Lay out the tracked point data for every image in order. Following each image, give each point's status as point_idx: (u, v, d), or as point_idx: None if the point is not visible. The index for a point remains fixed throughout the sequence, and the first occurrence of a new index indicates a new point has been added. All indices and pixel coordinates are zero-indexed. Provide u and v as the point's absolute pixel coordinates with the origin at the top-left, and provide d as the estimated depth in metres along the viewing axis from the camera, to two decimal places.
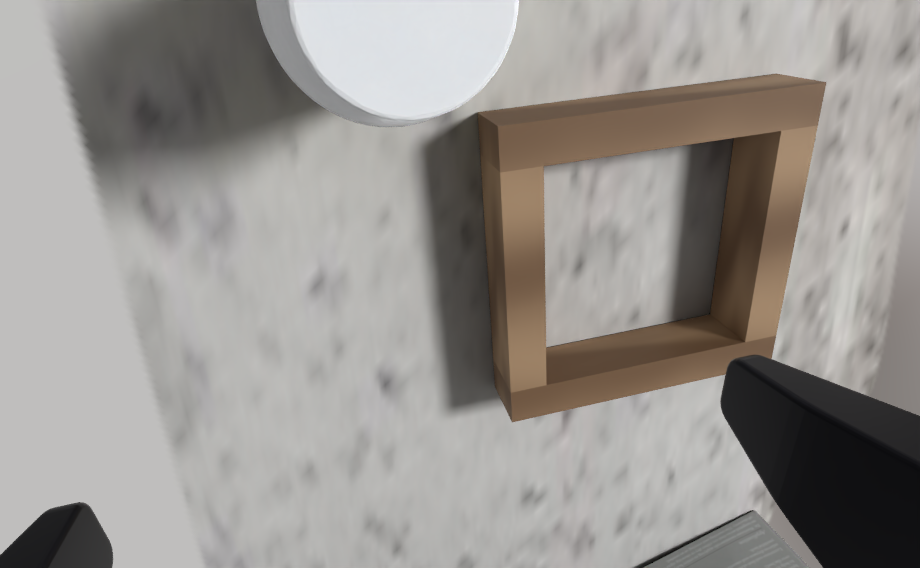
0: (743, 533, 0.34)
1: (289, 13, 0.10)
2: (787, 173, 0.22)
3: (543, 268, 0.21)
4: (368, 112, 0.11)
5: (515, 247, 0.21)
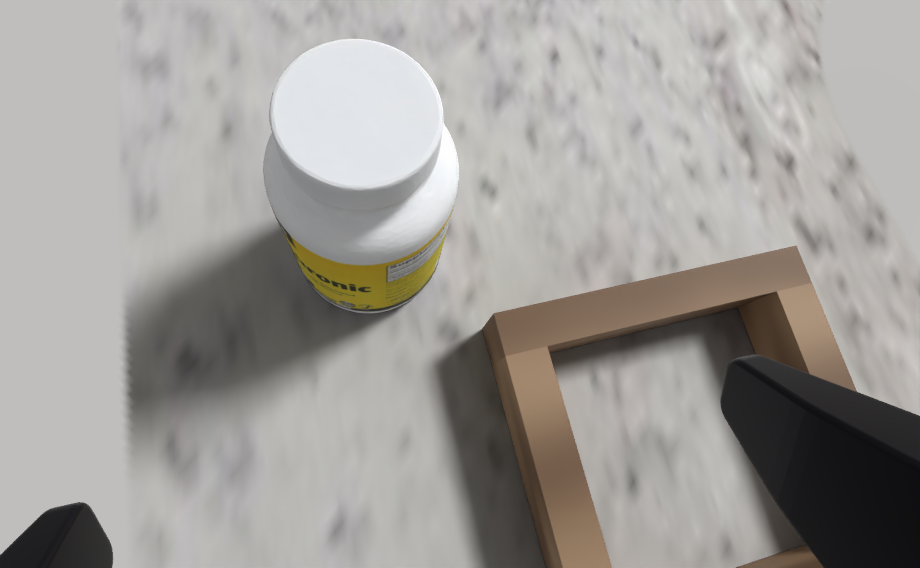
0: None
1: (271, 125, 0.13)
2: (807, 330, 0.21)
3: (578, 459, 0.19)
4: (332, 185, 0.13)
5: (540, 435, 0.19)
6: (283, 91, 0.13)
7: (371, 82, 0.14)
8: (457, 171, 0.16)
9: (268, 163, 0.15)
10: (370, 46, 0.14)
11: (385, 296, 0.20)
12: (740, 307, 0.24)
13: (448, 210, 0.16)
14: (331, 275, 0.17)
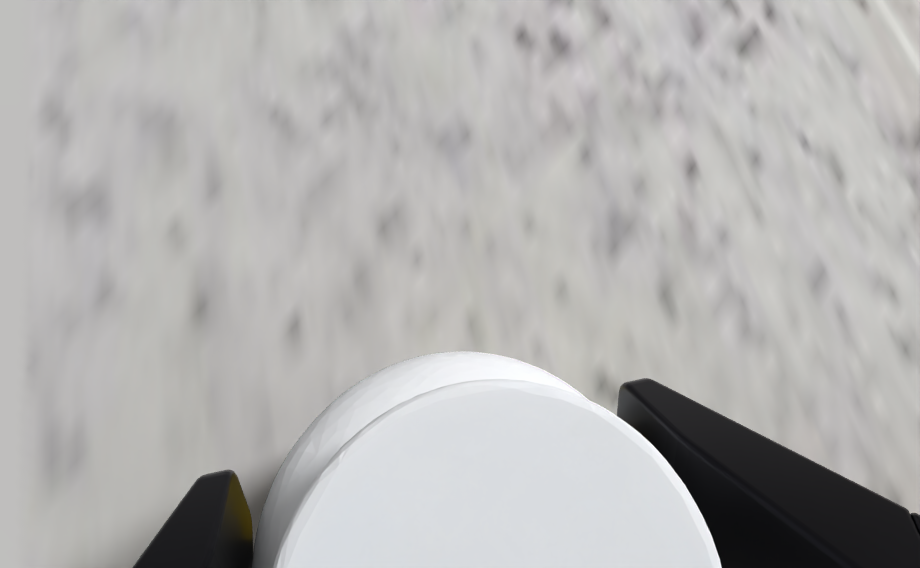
0: None
1: None
2: None
3: None
4: None
5: None
6: None
7: (538, 519, 0.05)
8: None
9: None
10: (527, 403, 0.05)
11: None
12: None
13: None
14: None
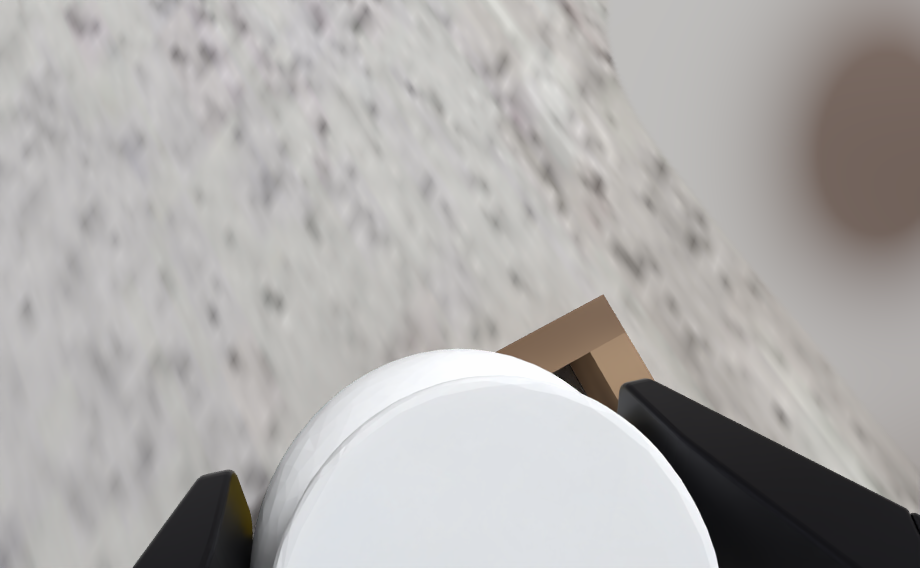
0: None
1: None
2: None
3: None
4: None
5: None
6: None
7: (536, 513, 0.05)
8: None
9: None
10: (525, 399, 0.05)
11: None
12: None
13: None
14: None
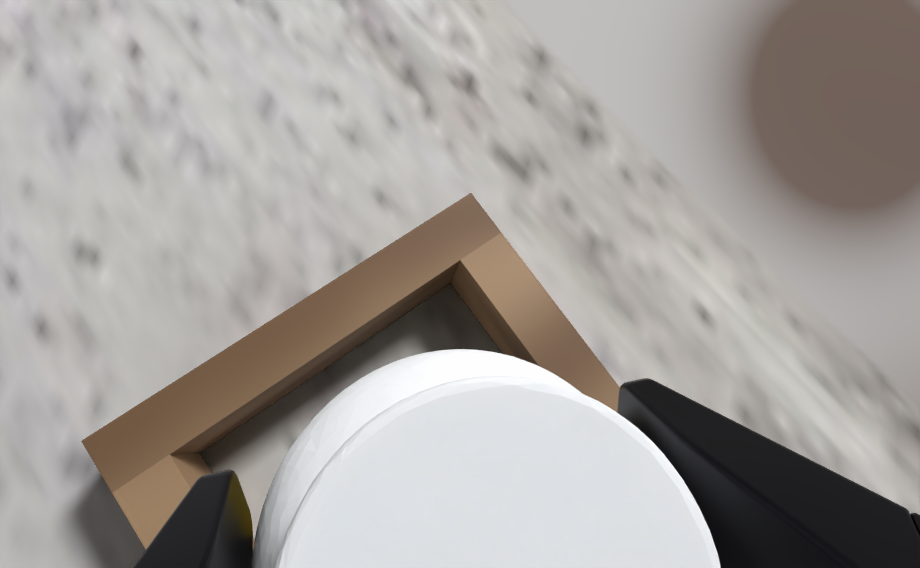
0: None
1: None
2: (510, 294, 0.17)
3: None
4: None
5: None
6: None
7: (538, 514, 0.05)
8: None
9: None
10: (527, 399, 0.05)
11: None
12: (451, 282, 0.19)
13: None
14: None
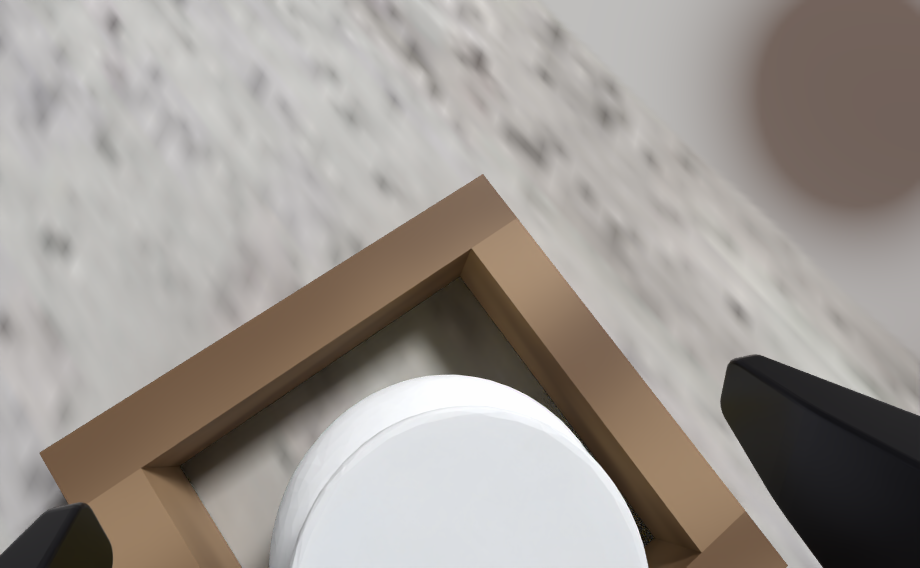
0: None
1: None
2: (528, 287, 0.15)
3: None
4: None
5: None
6: (314, 564, 0.06)
7: (498, 517, 0.06)
8: None
9: None
10: (490, 425, 0.07)
11: None
12: (460, 275, 0.17)
13: None
14: None
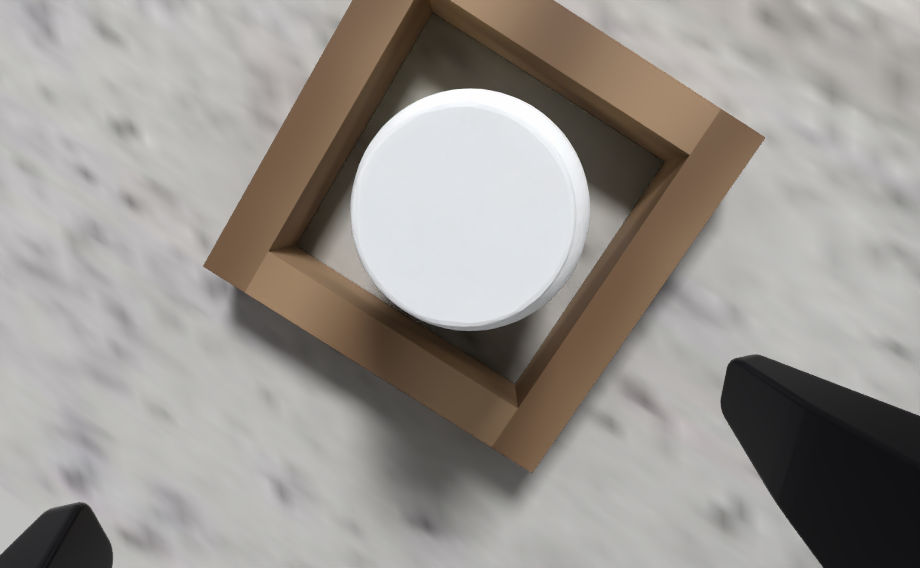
0: None
1: (375, 283, 0.11)
2: None
3: (372, 319, 0.18)
4: (478, 326, 0.10)
5: (327, 329, 0.18)
6: (365, 235, 0.10)
7: (459, 169, 0.10)
8: (582, 169, 0.13)
9: None
10: (434, 117, 0.10)
11: None
12: (432, 11, 0.19)
13: None
14: None
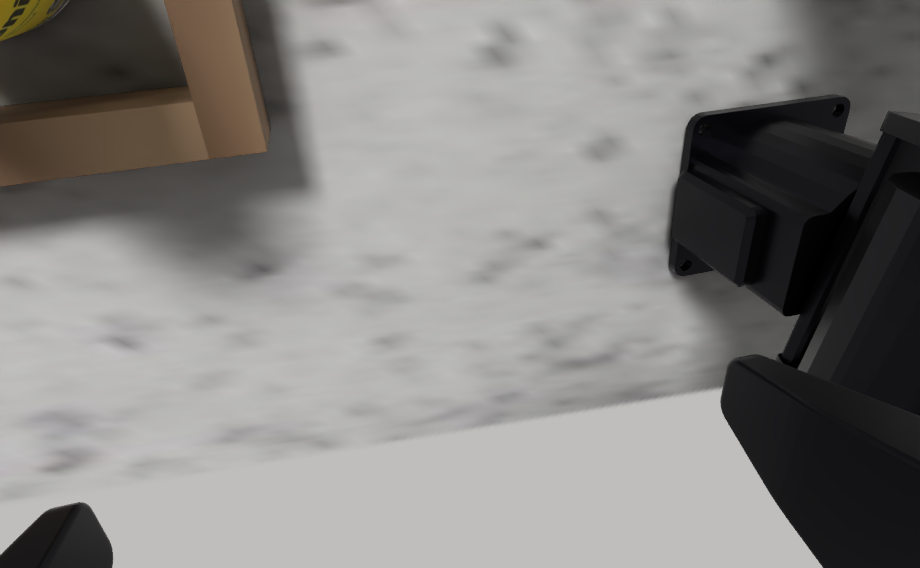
0: None
1: None
2: None
3: None
4: None
5: None
6: None
7: None
8: None
9: None
10: None
11: None
12: None
13: None
14: None
